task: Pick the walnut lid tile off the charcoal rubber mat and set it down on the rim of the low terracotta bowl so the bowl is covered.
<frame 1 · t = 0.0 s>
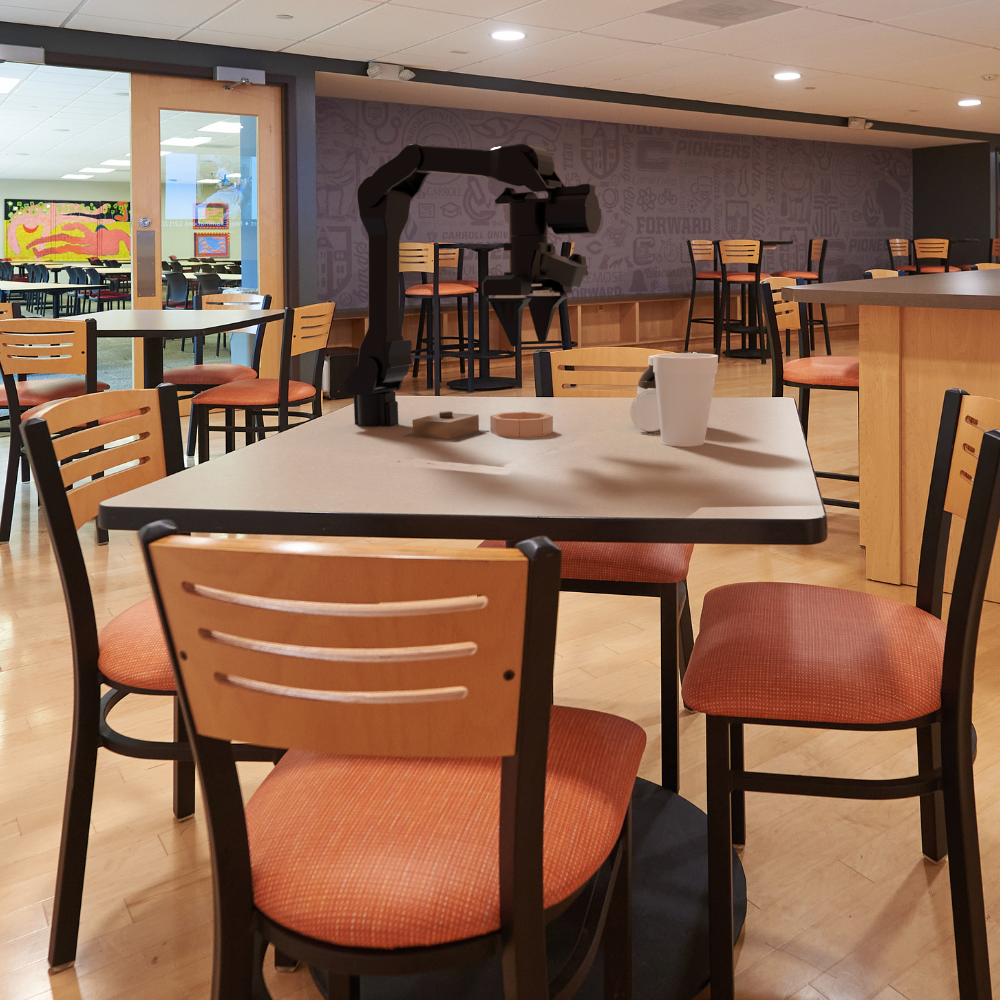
hand: (529, 344, 147), 15 cm above the table, fingers open, 9 cm apart
bowl: (521, 438, 153), on the table
spread jar: (663, 430, 162), on the table
lid: (446, 433, 152), point 1 cm above the table, touching mat
mat: (446, 439, 153), on the table
foam cup: (682, 444, 148), on the table
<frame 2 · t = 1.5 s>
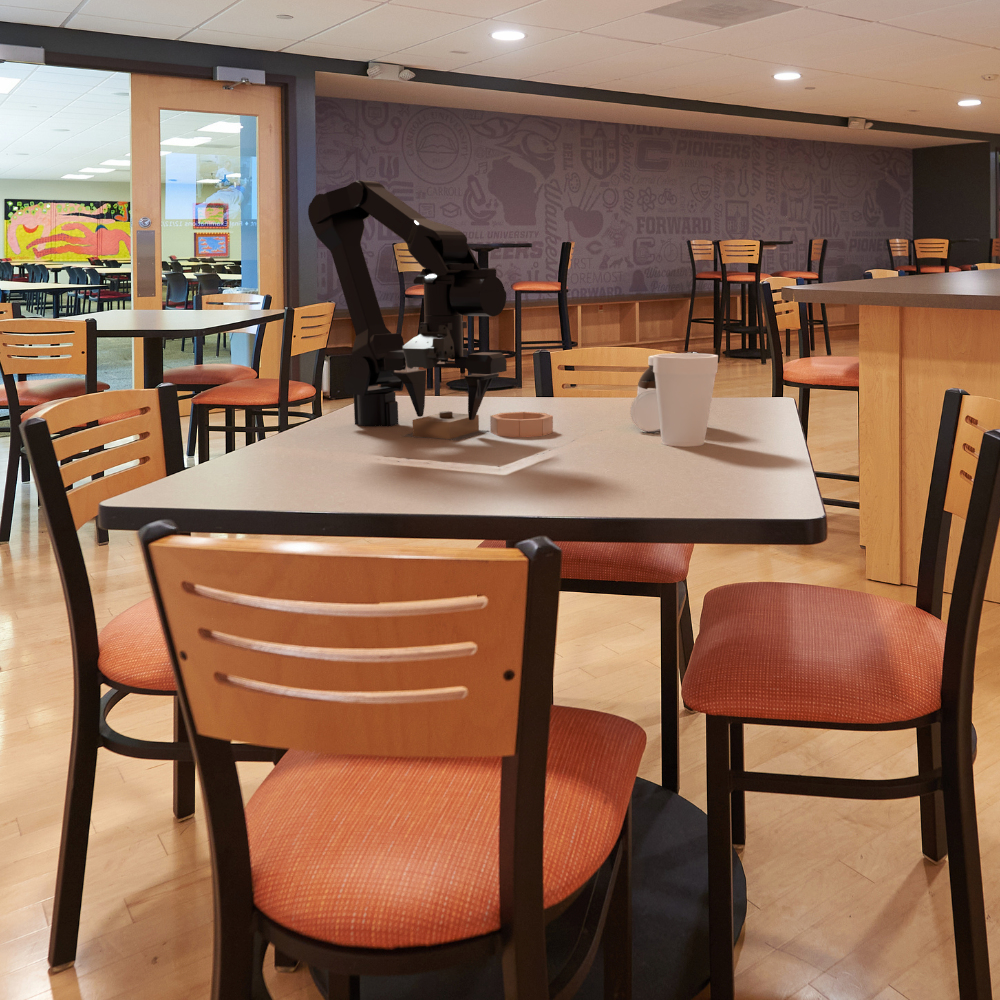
hand: (445, 418, 152), 3 cm above the table, fingers open, 9 cm apart
nothing on the table moved.
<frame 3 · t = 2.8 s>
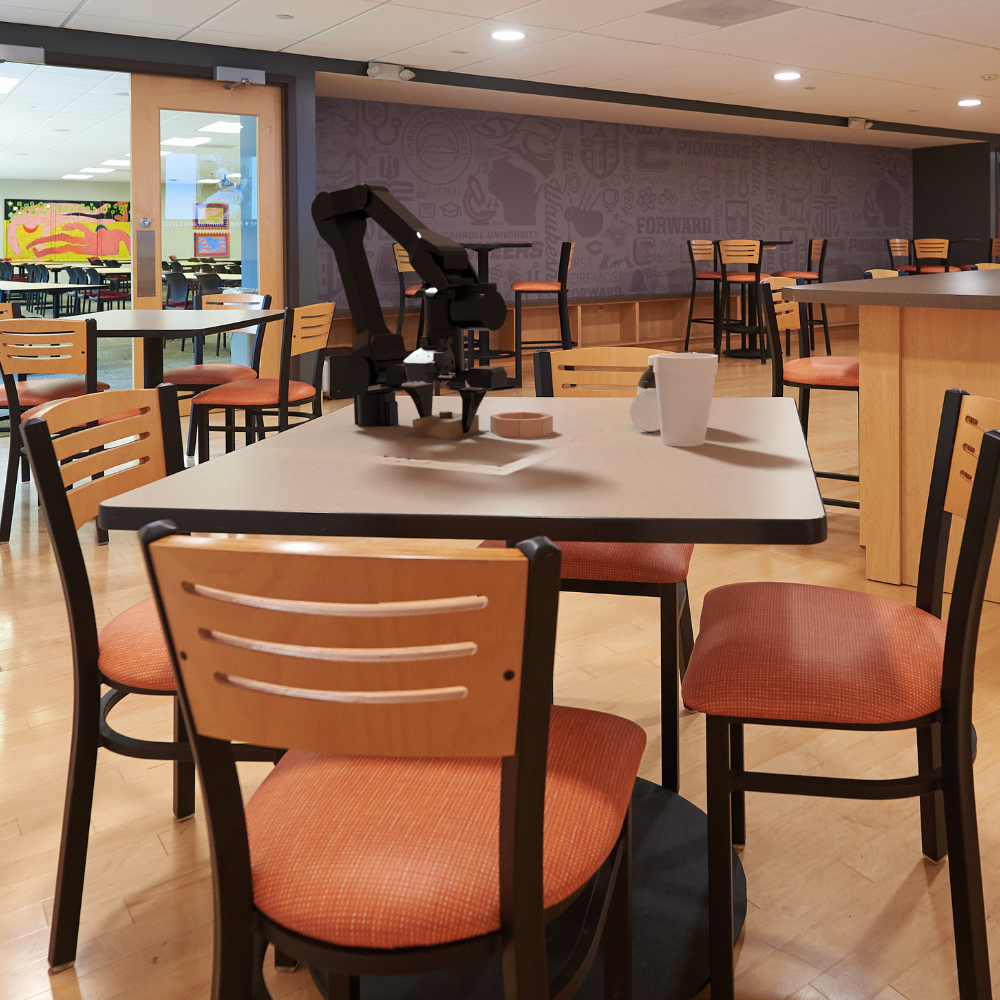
hand: (446, 431, 152), 1 cm above the table, fingers closed on lid, 6 cm apart
lid: (446, 433, 152), point 1 cm above the table, touching gripper, mat
everything else where it was.
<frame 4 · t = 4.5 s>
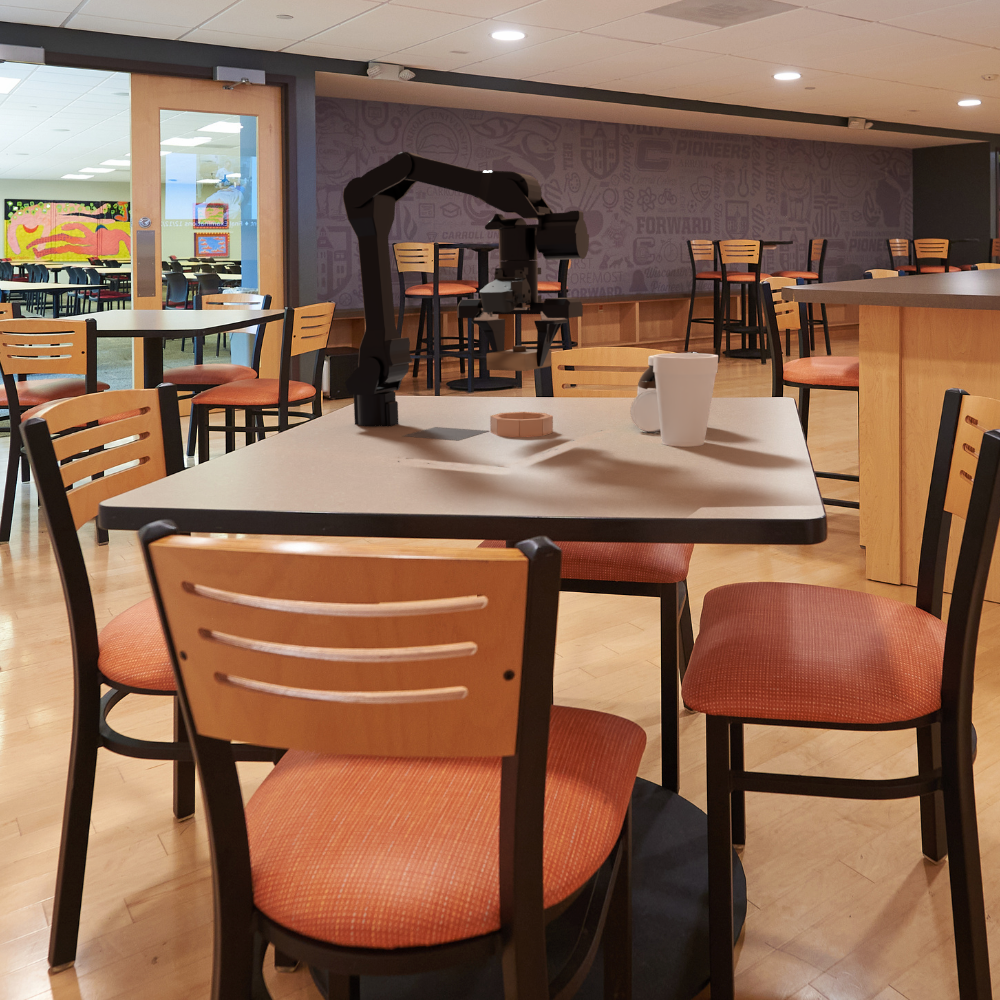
hand: (519, 366, 151), 11 cm above the table, fingers closed on lid, 6 cm apart
lid: (519, 367, 151), point 11 cm above the table, touching gripper
everything else where it was.
when the fingers open (4 cm above the table, at t = 6.6 s): lid stays where it is, resting on bowl.
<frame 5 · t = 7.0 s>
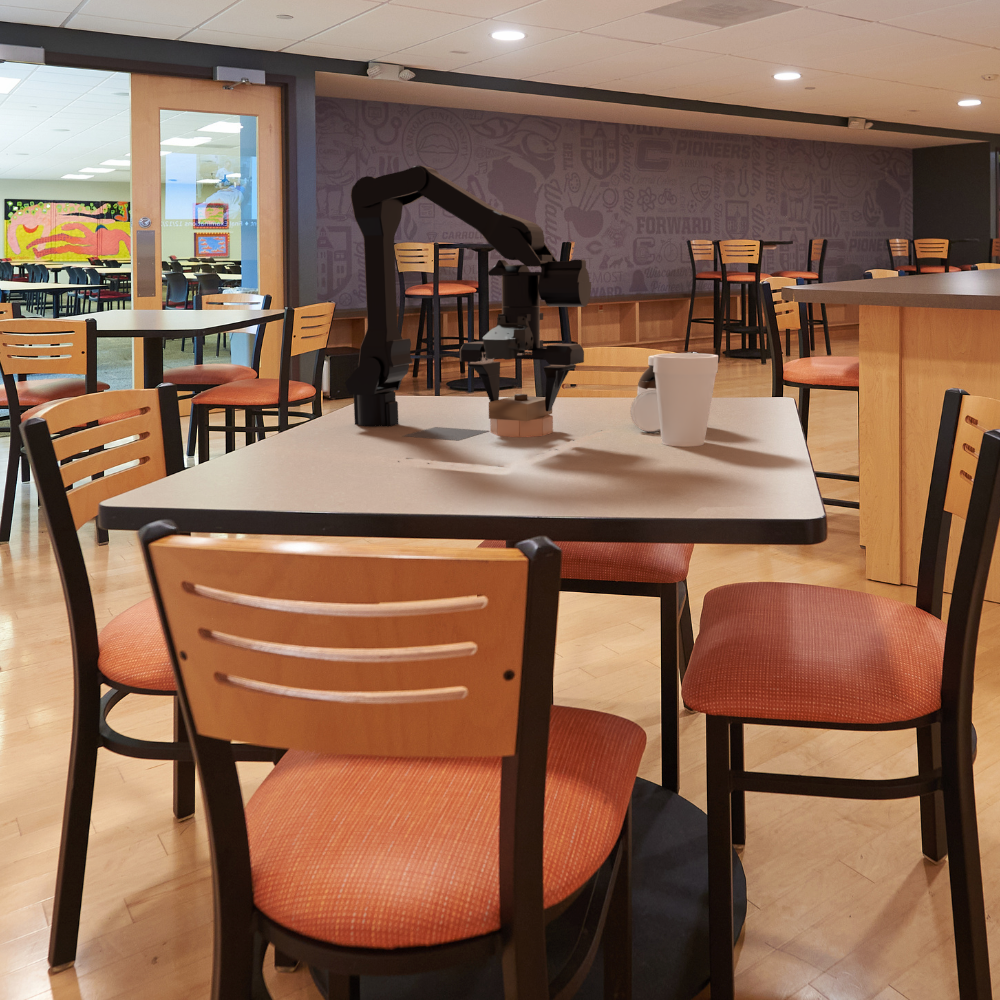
hand: (521, 409, 152), 4 cm above the table, fingers open, 9 cm apart
lid: (521, 415, 152), point 3 cm above the table, touching bowl
everything else where it was.
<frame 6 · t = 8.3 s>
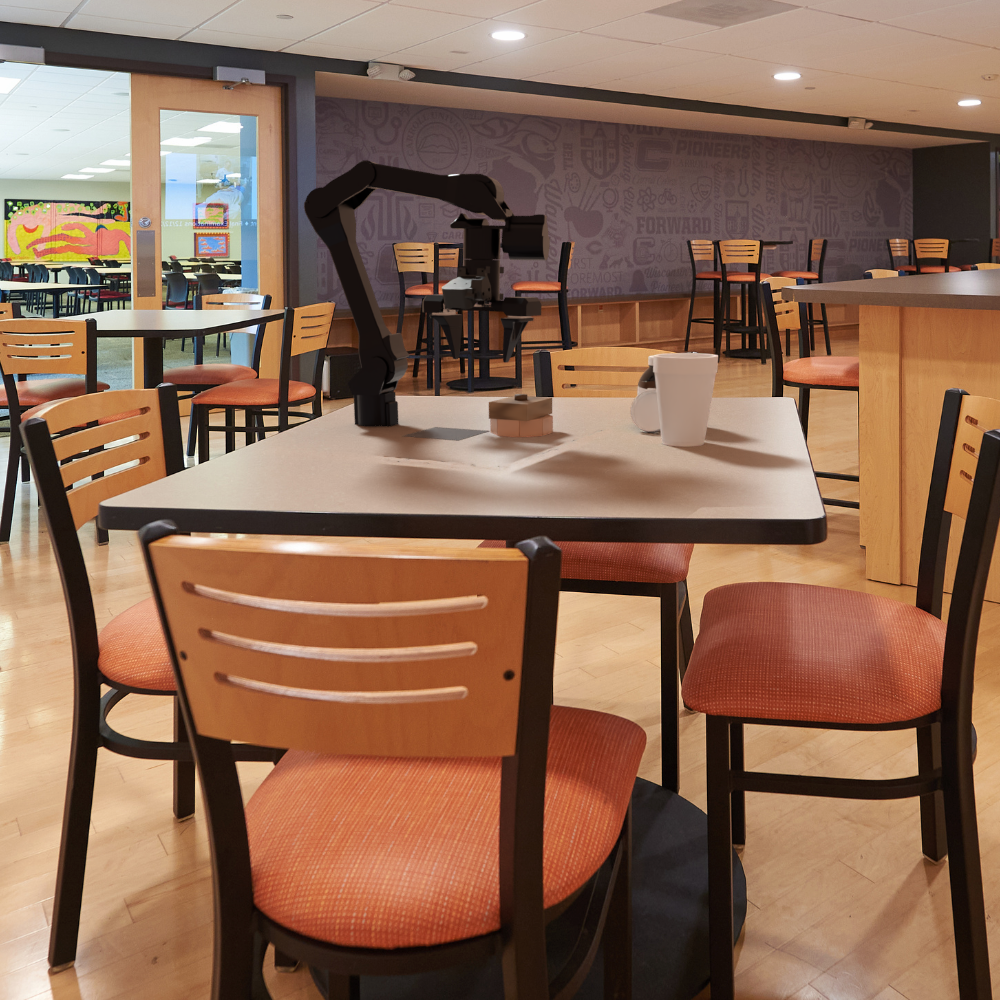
hand: (480, 360, 157), 12 cm above the table, fingers open, 9 cm apart
nothing on the table moved.
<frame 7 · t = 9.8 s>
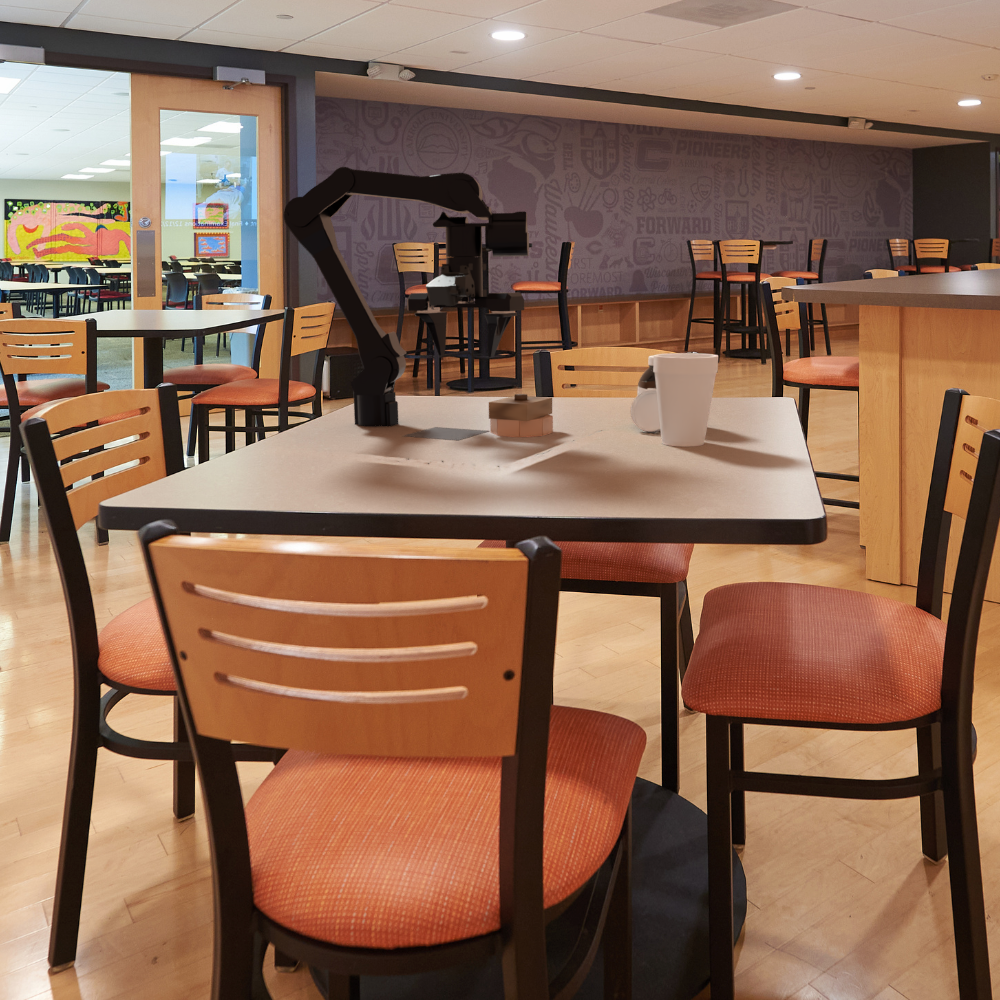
hand: (465, 356, 159), 12 cm above the table, fingers open, 9 cm apart
nothing on the table moved.
at the end: lid 0.1 cm off-centre on the bowl, point 3.5 cm above the bowl's base; lid tilted 0°; the gripper is holding nothing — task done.
